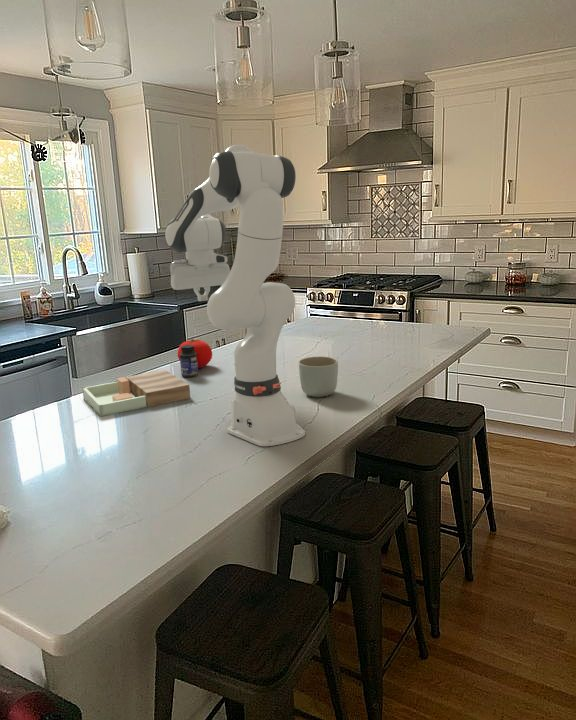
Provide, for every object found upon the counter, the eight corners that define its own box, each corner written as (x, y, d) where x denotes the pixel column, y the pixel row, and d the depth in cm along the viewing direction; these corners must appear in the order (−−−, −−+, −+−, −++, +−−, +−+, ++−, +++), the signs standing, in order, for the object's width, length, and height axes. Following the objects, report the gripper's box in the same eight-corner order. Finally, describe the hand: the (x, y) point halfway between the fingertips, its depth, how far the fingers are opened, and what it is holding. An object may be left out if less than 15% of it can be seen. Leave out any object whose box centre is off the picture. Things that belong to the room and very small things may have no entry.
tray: (146, 407, 183) (145, 396, 182) (100, 416, 176) (99, 405, 175) (125, 390, 201) (124, 380, 200) (83, 398, 194) (82, 387, 193)
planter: (329, 386, 196) (329, 354, 193) (344, 397, 185) (344, 363, 182) (294, 391, 193) (293, 359, 190) (307, 402, 181) (306, 368, 178)
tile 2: (128, 380, 192) (121, 381, 191) (130, 395, 193) (122, 396, 192) (124, 377, 196) (116, 378, 195) (126, 391, 198) (118, 392, 196)
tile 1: (116, 399, 181) (117, 407, 182) (132, 396, 183) (133, 404, 184) (112, 395, 185) (113, 403, 186) (127, 392, 188) (128, 400, 188)
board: (190, 398, 190) (189, 384, 189) (148, 406, 183) (146, 392, 182) (166, 382, 208) (165, 369, 207) (127, 389, 201) (125, 377, 200)
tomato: (193, 362, 234) (191, 334, 231) (218, 365, 227) (216, 337, 224) (172, 369, 225) (169, 341, 222) (197, 373, 218) (195, 344, 215)
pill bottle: (194, 378, 212) (192, 348, 209) (178, 377, 213) (176, 348, 210) (200, 373, 218) (198, 344, 215) (185, 372, 219) (182, 344, 216)
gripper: (172, 261, 185) (176, 305, 188) (231, 256, 195) (234, 298, 198) (165, 260, 190) (169, 303, 194) (223, 255, 200) (226, 296, 204)
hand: (202, 300), depth 196 cm, fingers closed
